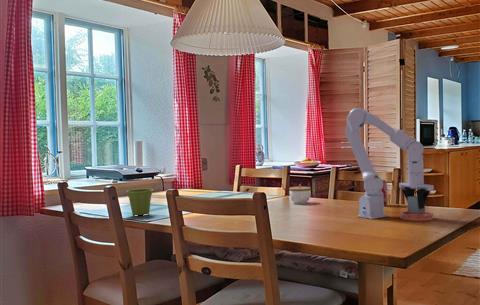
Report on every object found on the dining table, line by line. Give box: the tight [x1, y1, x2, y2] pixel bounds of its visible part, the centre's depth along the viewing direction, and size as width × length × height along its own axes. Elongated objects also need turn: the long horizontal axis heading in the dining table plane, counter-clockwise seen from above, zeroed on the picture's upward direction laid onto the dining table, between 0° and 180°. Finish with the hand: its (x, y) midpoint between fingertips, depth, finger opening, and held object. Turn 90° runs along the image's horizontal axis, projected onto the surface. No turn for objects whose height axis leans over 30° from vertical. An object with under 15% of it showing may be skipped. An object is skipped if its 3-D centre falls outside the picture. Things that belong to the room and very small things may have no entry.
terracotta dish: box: [399, 210, 434, 222], centre depth 180 cm, size 12×12×2 cm
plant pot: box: [125, 188, 154, 216], centre depth 208 cm, size 12×12×11 cm
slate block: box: [406, 195, 426, 213], centre depth 180 cm, size 4×4×6 cm
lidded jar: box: [288, 183, 312, 205], centre depth 231 cm, size 11×11×9 cm
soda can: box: [381, 178, 388, 207], centre depth 216 cm, size 7×7×12 cm
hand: (416, 207), depth 180 cm, fingers closed on slate block, 4 cm apart
